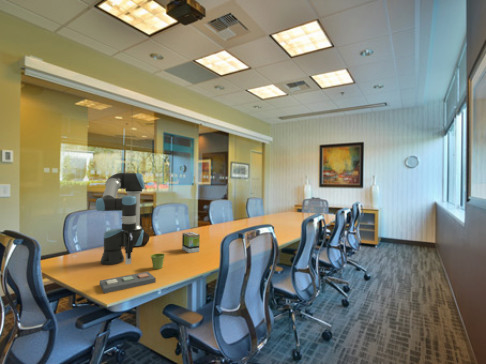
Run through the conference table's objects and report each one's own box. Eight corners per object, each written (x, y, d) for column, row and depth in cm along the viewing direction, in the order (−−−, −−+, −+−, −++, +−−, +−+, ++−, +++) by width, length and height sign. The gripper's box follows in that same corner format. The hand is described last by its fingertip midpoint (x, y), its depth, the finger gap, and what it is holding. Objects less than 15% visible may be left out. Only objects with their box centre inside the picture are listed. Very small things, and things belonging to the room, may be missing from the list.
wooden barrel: (144, 242, 258) (145, 213, 258) (152, 245, 245) (153, 215, 245) (125, 245, 245) (125, 214, 245) (133, 248, 232) (133, 216, 232)
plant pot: (155, 271, 176) (155, 258, 176) (147, 268, 182) (147, 255, 182) (167, 267, 183) (167, 255, 183) (160, 264, 189) (160, 252, 189)
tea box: (199, 251, 227) (200, 234, 227) (188, 253, 221) (188, 235, 221) (192, 247, 239) (192, 231, 239) (181, 249, 233) (182, 232, 233)
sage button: (122, 281, 155) (122, 277, 155) (131, 279, 158) (131, 275, 158) (124, 284, 151) (124, 280, 151) (133, 282, 154) (133, 278, 154)
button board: (99, 285, 152) (99, 280, 152) (147, 275, 168) (148, 271, 168) (104, 293, 140) (104, 288, 140) (155, 282, 157) (155, 278, 157)
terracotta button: (137, 278, 160) (137, 274, 160) (146, 276, 163) (146, 273, 163) (140, 281, 156) (140, 277, 156) (148, 279, 159) (148, 275, 159)
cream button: (106, 284, 149) (106, 280, 149) (115, 282, 152) (115, 278, 152) (107, 287, 145) (107, 283, 145) (117, 285, 148) (117, 281, 148)
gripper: (119, 221, 157) (118, 261, 157) (124, 225, 147) (124, 268, 147) (132, 220, 161) (132, 259, 162) (138, 223, 151) (138, 265, 151)
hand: (128, 263), depth 154 cm, fingers closed
